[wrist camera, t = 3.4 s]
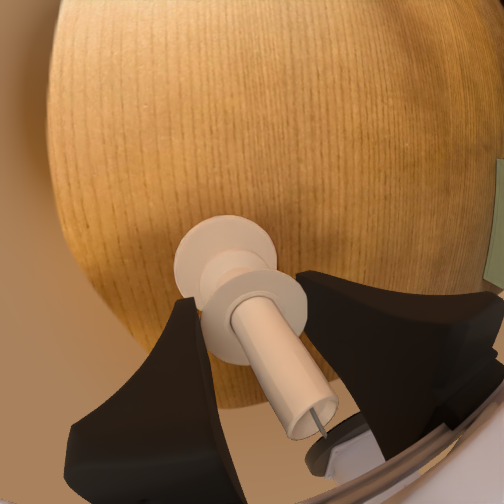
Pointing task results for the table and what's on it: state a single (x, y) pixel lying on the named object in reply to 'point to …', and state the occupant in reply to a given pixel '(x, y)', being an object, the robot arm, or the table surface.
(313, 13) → the table surface
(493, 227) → the open box
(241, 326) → the candle
